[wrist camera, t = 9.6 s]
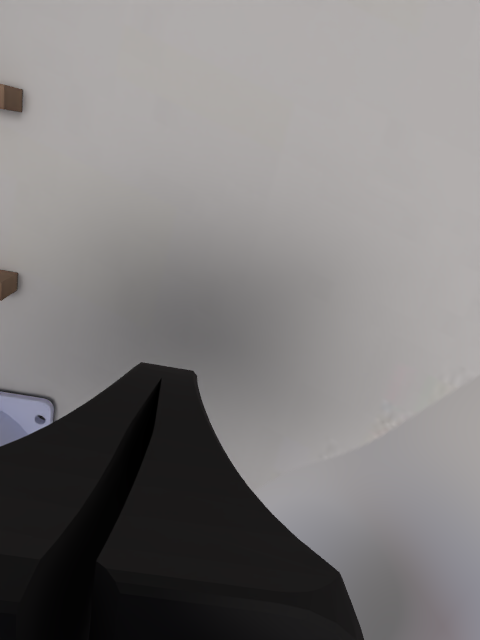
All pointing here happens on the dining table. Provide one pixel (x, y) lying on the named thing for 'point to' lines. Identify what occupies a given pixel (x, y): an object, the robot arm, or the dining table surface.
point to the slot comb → (11, 99)
